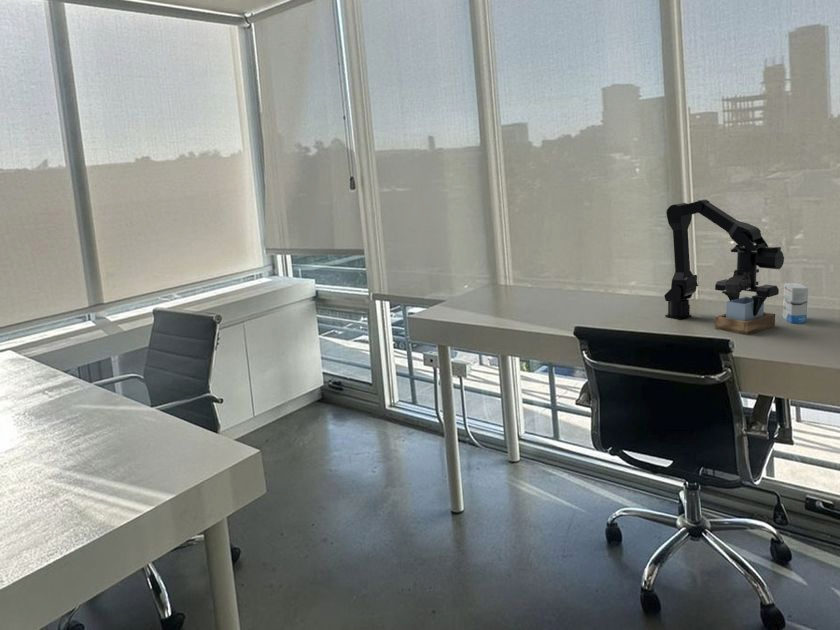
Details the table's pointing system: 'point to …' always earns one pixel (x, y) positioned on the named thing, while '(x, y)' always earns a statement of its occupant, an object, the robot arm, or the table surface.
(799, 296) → the ink box
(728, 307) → the blue crate
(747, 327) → the walnut crate
